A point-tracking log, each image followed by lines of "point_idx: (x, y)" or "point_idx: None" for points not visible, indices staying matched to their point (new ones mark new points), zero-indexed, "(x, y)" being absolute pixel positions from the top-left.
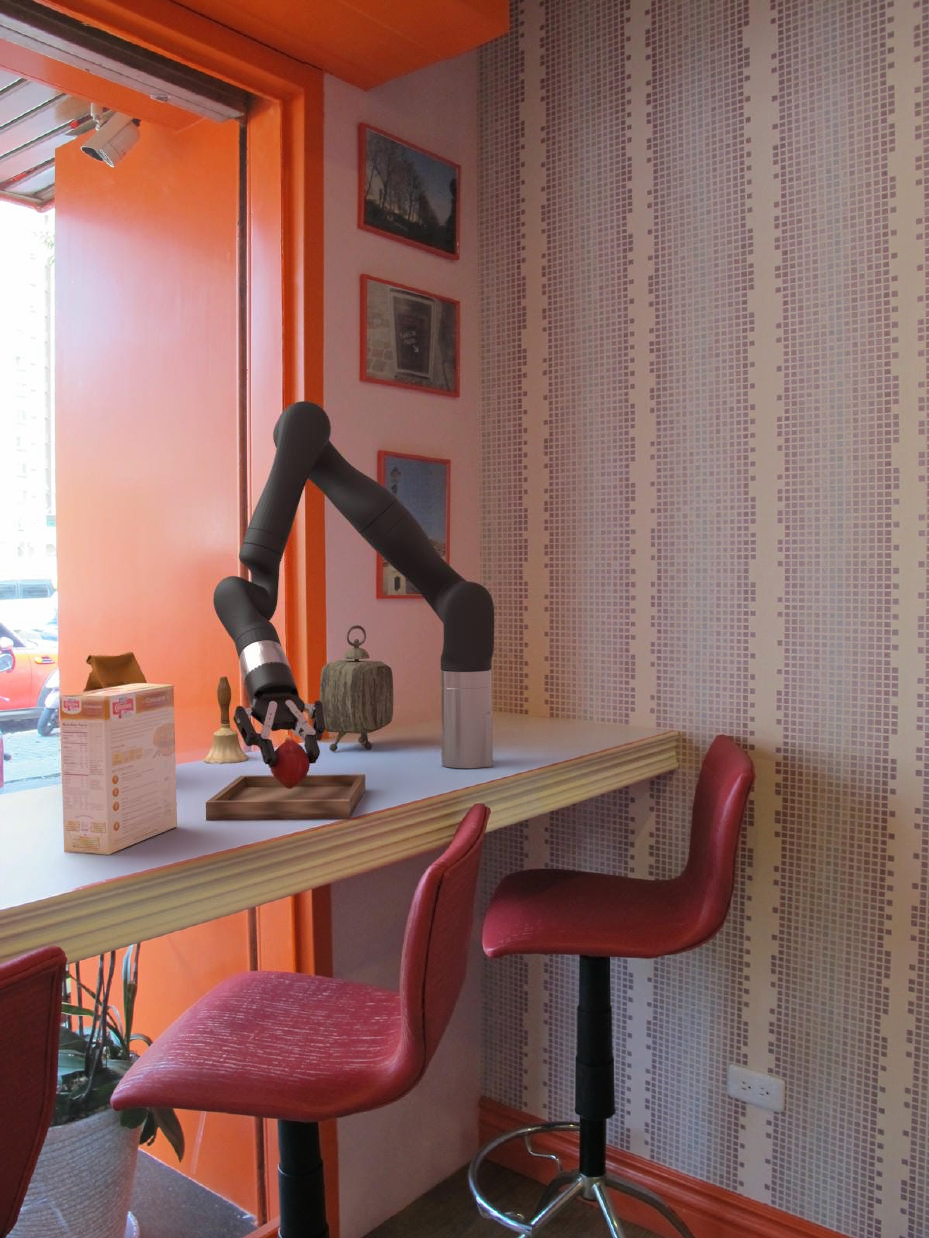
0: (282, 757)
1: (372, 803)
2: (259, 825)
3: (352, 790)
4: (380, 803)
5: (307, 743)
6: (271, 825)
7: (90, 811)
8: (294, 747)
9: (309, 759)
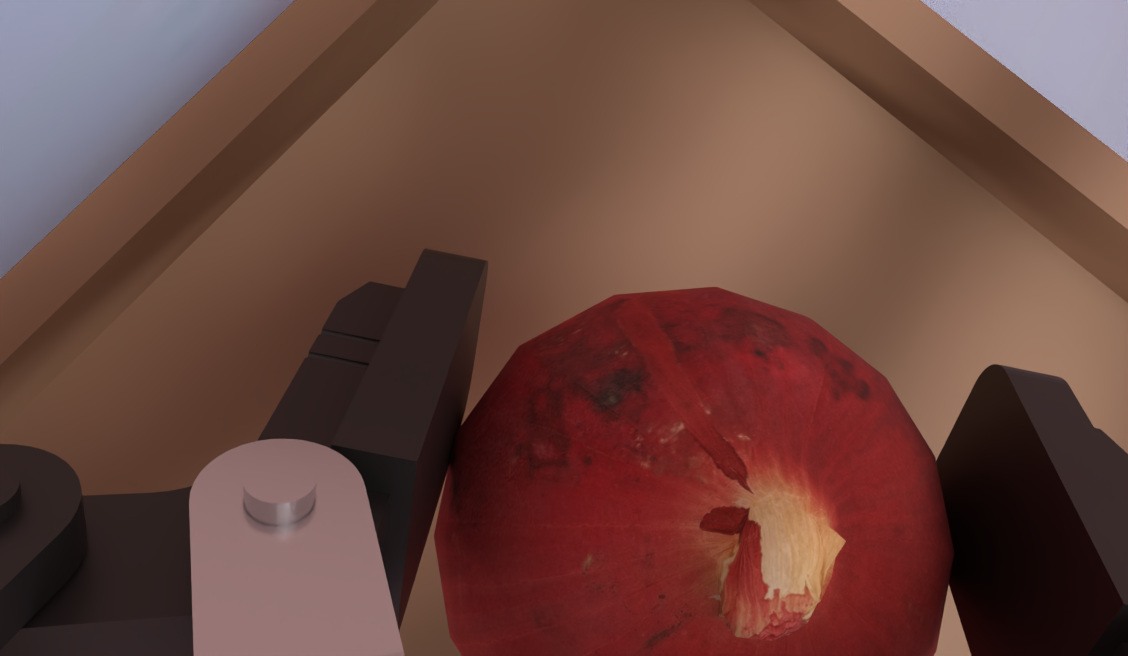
0: (894, 394)
1: (142, 95)
2: (1115, 75)
3: (318, 12)
4: (100, 54)
5: (423, 483)
6: (1051, 23)
7: None
8: (743, 357)
9: (456, 427)
